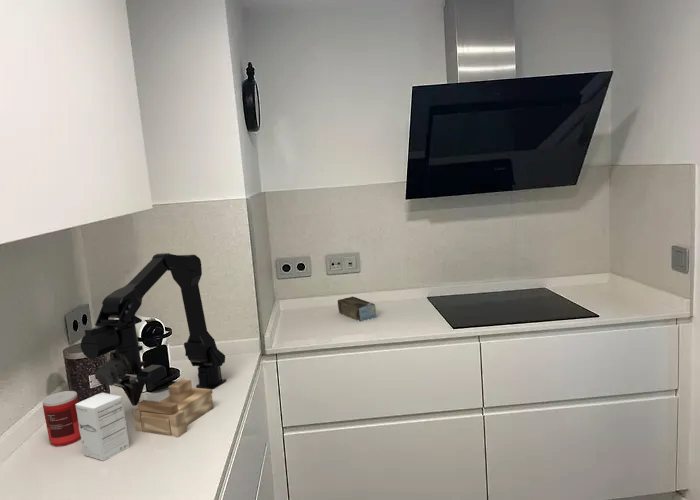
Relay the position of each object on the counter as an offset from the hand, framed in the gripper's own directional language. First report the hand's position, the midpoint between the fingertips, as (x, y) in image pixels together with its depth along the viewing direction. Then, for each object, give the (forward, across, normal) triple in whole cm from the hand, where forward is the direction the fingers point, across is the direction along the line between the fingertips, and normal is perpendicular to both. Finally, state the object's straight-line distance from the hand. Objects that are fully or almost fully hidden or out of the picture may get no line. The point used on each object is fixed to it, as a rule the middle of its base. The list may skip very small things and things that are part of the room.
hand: (135, 405), depth 138 cm
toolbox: (+6, +7, +6) cm, 12 cm away
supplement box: (+6, +2, -12) cm, 13 cm away
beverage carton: (+7, +12, +106) cm, 107 cm away
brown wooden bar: (+1, +7, 0) cm, 7 cm away
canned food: (+6, -14, -10) cm, 18 cm away
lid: (+2, +7, +7) cm, 10 cm away
